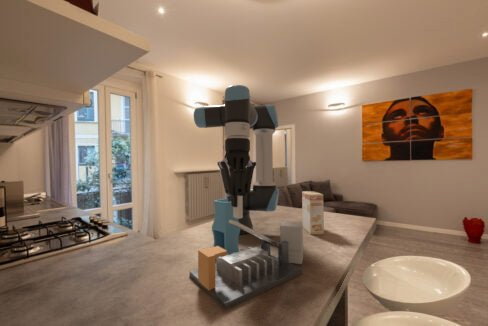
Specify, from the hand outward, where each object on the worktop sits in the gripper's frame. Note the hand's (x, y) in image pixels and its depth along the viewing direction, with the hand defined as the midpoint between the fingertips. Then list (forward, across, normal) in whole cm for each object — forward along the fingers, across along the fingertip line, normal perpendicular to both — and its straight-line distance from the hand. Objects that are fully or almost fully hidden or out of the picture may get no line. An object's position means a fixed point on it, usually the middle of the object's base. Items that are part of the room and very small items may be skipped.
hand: (237, 217), depth 65 cm
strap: (+7, +7, 0) cm, 10 cm away
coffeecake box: (+18, +59, +16) cm, 64 cm away
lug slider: (+16, -8, 0) cm, 18 cm away
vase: (+18, +8, +19) cm, 28 cm away
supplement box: (+18, +23, -1) cm, 29 cm away
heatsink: (+18, +3, 0) cm, 18 cm away
